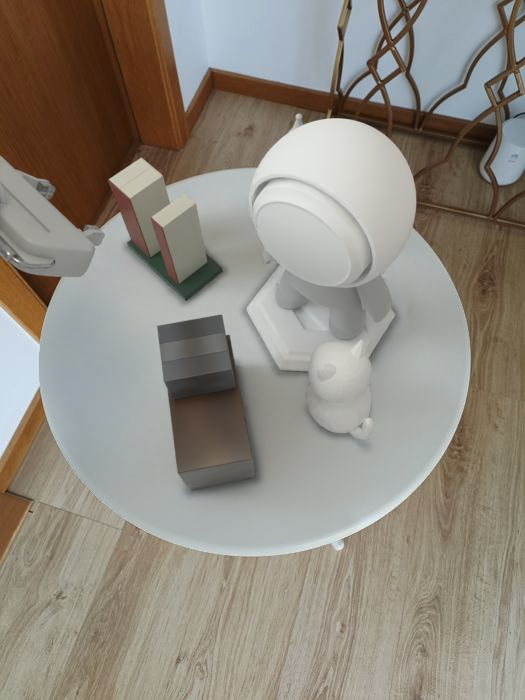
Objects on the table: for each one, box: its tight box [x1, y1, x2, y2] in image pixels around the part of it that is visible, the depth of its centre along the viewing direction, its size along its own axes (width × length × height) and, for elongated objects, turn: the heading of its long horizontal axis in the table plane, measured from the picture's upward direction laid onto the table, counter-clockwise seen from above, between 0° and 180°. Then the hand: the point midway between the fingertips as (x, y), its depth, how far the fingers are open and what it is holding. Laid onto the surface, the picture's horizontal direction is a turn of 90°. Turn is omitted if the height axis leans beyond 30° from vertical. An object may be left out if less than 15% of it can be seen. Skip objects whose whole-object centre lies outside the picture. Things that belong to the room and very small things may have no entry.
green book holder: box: [107, 157, 224, 302], centre depth 82 cm, size 8×15×15 cm, turn 44°
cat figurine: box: [305, 340, 376, 440], centre depth 69 cm, size 9×12×15 cm
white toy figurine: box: [245, 117, 417, 373], centre depth 67 cm, size 20×23×35 cm
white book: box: [150, 193, 207, 284], centre depth 80 cm, size 6×2×14 cm, turn 134°
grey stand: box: [156, 314, 256, 491], centre depth 69 cm, size 9×17×16 cm, turn 11°
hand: (74, 212), depth 61 cm, fingers open, 8 cm apart
